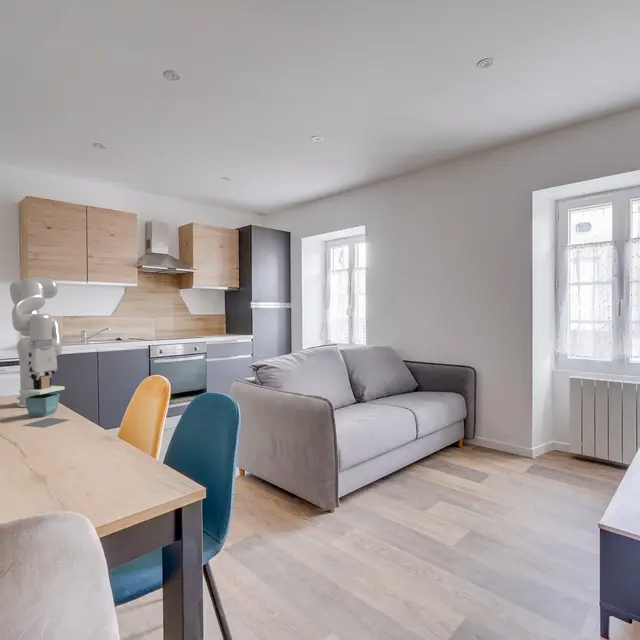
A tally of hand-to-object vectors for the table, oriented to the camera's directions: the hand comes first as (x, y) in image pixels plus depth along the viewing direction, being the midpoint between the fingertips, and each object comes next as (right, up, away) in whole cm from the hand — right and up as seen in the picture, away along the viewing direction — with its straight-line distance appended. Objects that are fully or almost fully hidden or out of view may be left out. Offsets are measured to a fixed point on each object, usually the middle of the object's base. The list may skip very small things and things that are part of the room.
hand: (42, 387), depth 167 cm
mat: (+10, -12, -11) cm, 19 cm away
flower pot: (0, -12, 0) cm, 12 cm away
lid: (0, -1, 0) cm, 1 cm away
